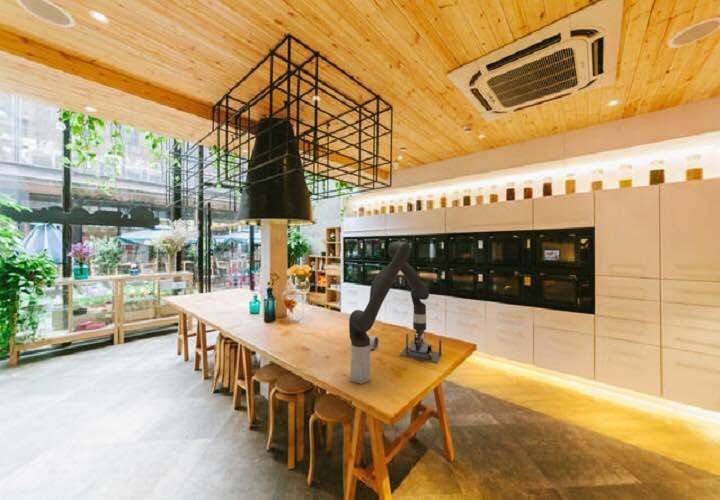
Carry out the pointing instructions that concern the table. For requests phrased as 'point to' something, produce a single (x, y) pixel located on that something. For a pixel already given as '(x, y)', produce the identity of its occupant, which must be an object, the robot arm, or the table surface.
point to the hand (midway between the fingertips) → (419, 348)
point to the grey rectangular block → (422, 347)
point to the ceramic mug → (373, 342)
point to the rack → (428, 357)
